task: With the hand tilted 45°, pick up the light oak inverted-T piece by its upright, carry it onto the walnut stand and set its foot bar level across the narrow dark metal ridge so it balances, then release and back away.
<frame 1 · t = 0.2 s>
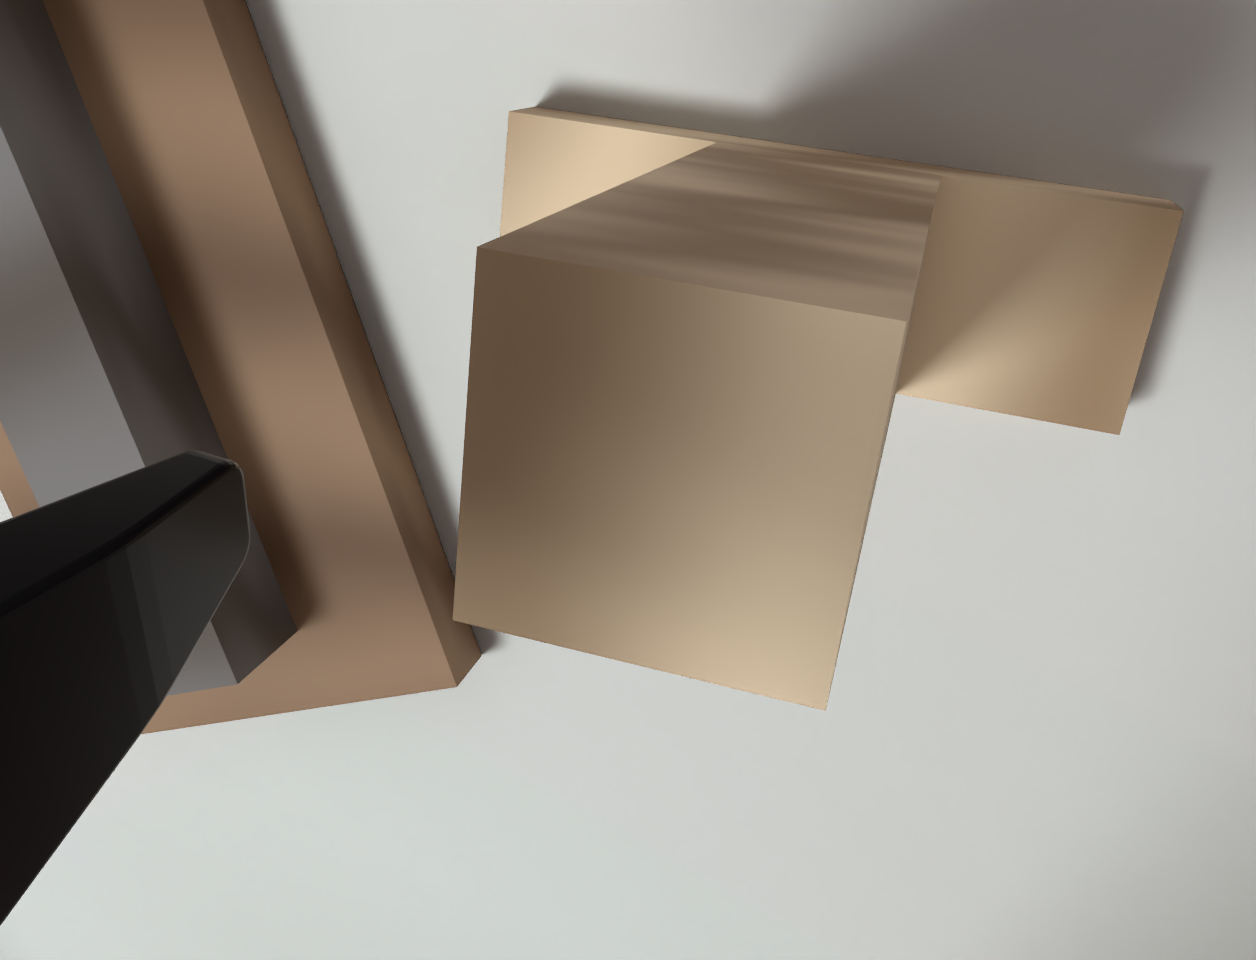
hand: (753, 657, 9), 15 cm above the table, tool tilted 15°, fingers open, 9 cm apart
oak T piece: (817, 255, 23), on the table
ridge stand: (152, 302, 28), on the table
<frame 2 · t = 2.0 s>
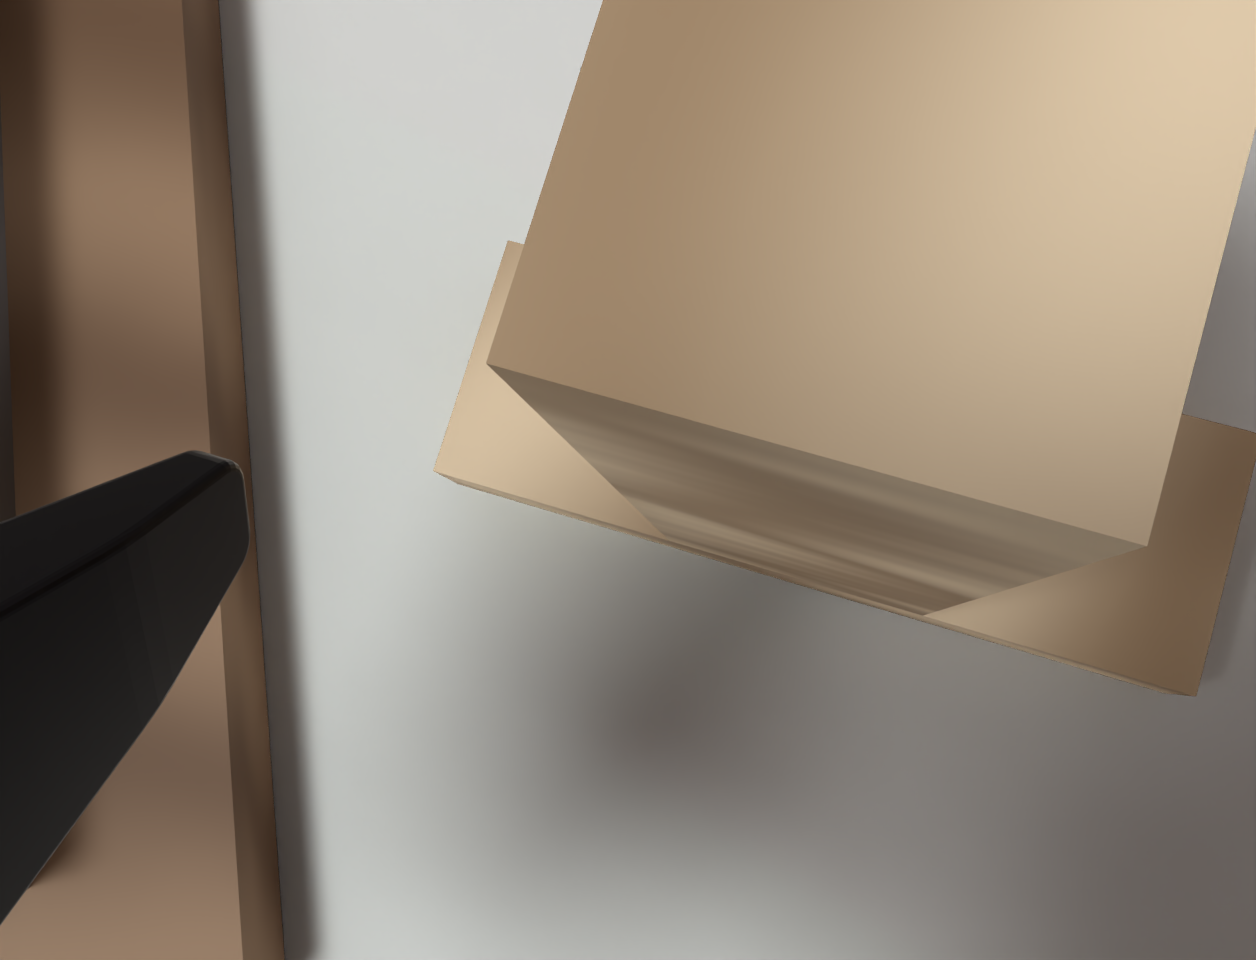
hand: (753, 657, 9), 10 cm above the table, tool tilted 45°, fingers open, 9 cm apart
oak T piece: (826, 468, 20), on the table
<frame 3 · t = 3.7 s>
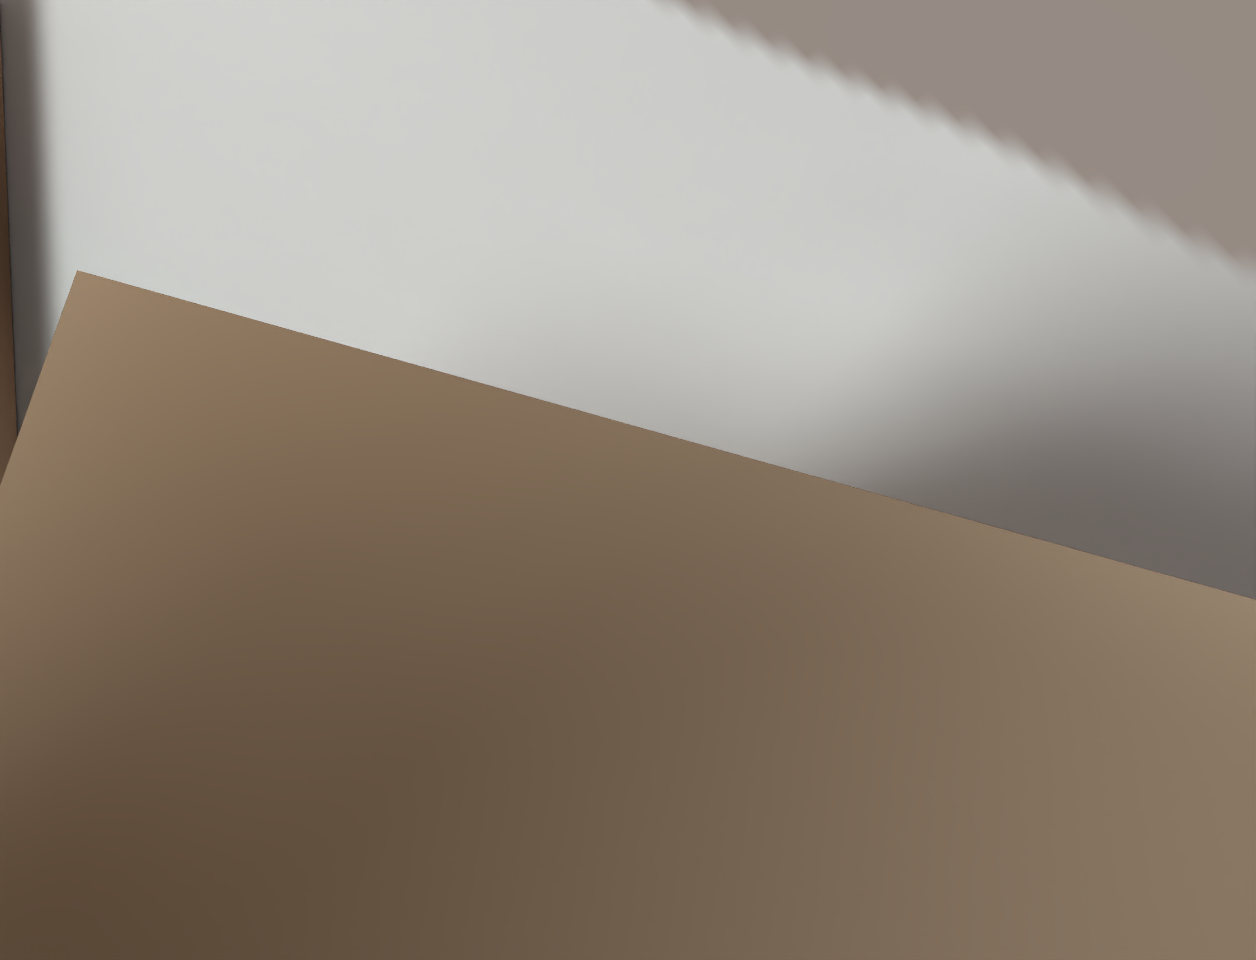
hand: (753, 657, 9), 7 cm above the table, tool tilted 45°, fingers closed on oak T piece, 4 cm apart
oak T piece: (739, 757, 16), on the table, touching gripper
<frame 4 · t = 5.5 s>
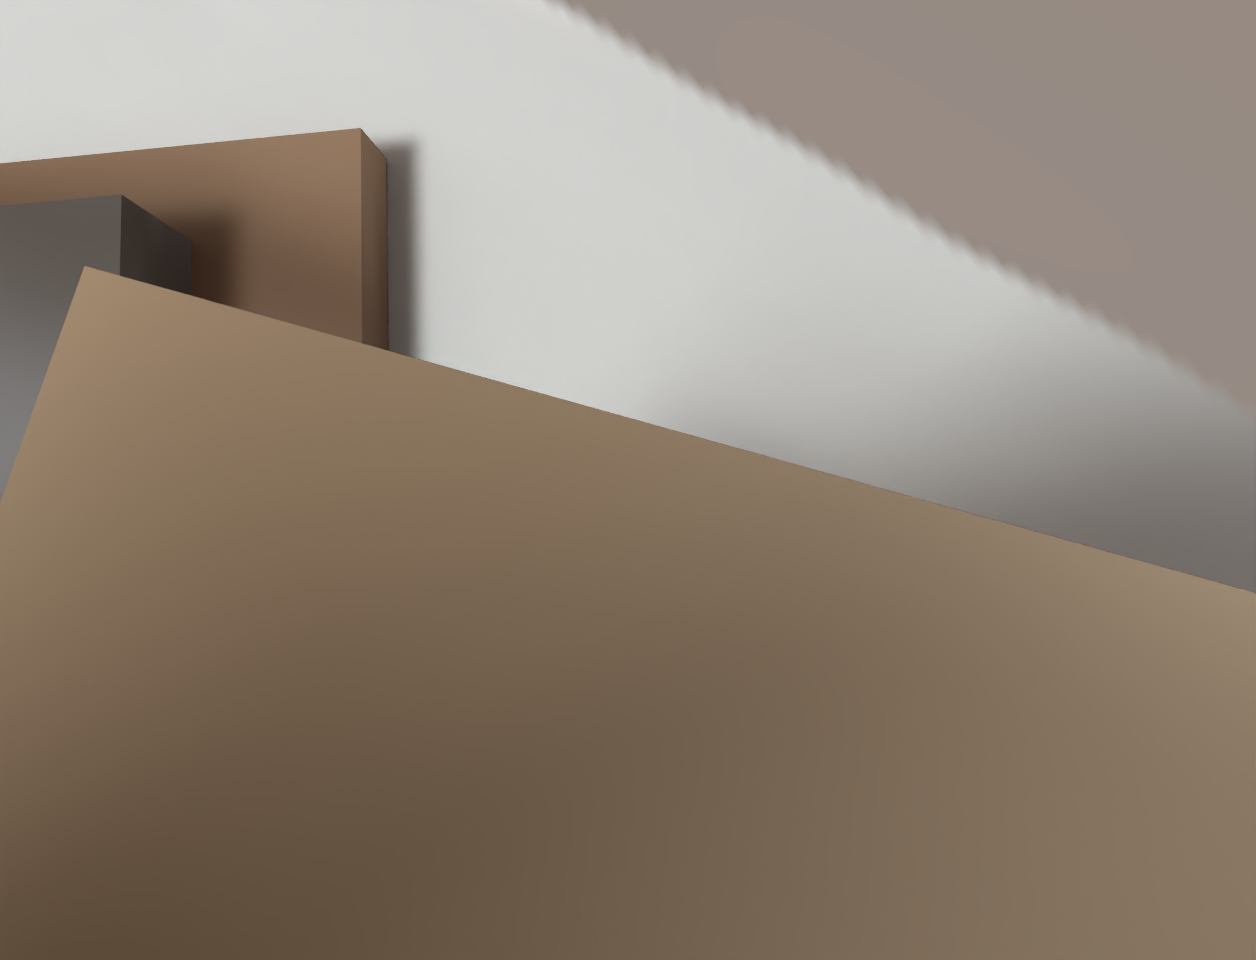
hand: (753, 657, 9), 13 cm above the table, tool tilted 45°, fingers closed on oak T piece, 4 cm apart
oak T piece: (742, 756, 16), point 7 cm above the table, touching gripper
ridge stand: (152, 651, 24), on the table
when the fingers open (11 cm above the table, at t = 7.3 s): oak T piece stays where it is, resting on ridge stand.
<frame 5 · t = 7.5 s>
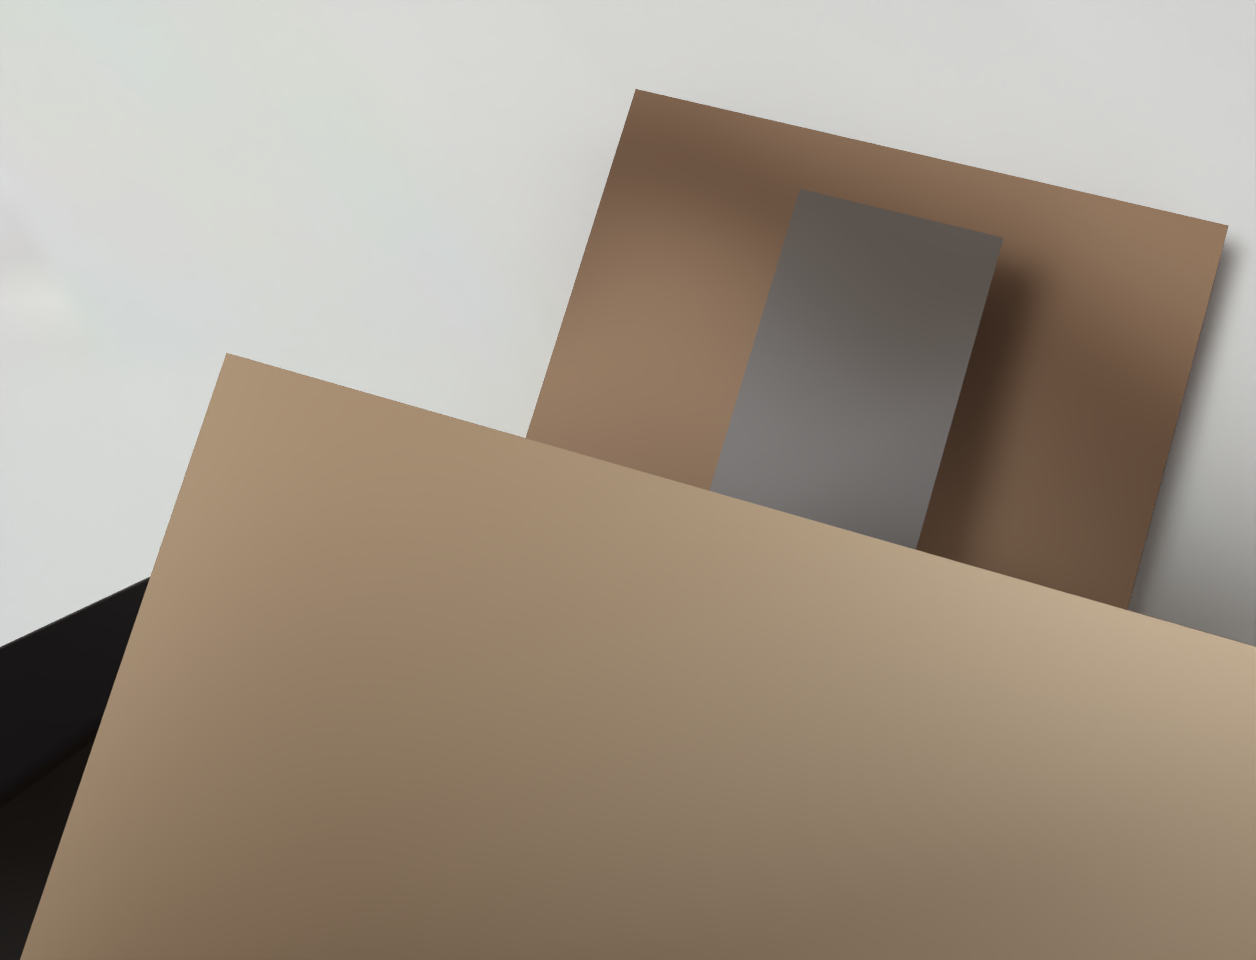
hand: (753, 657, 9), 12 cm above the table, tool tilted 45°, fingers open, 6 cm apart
oak T piece: (743, 750, 17), point 4 cm above the table, touching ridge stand
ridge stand: (753, 729, 21), on the table
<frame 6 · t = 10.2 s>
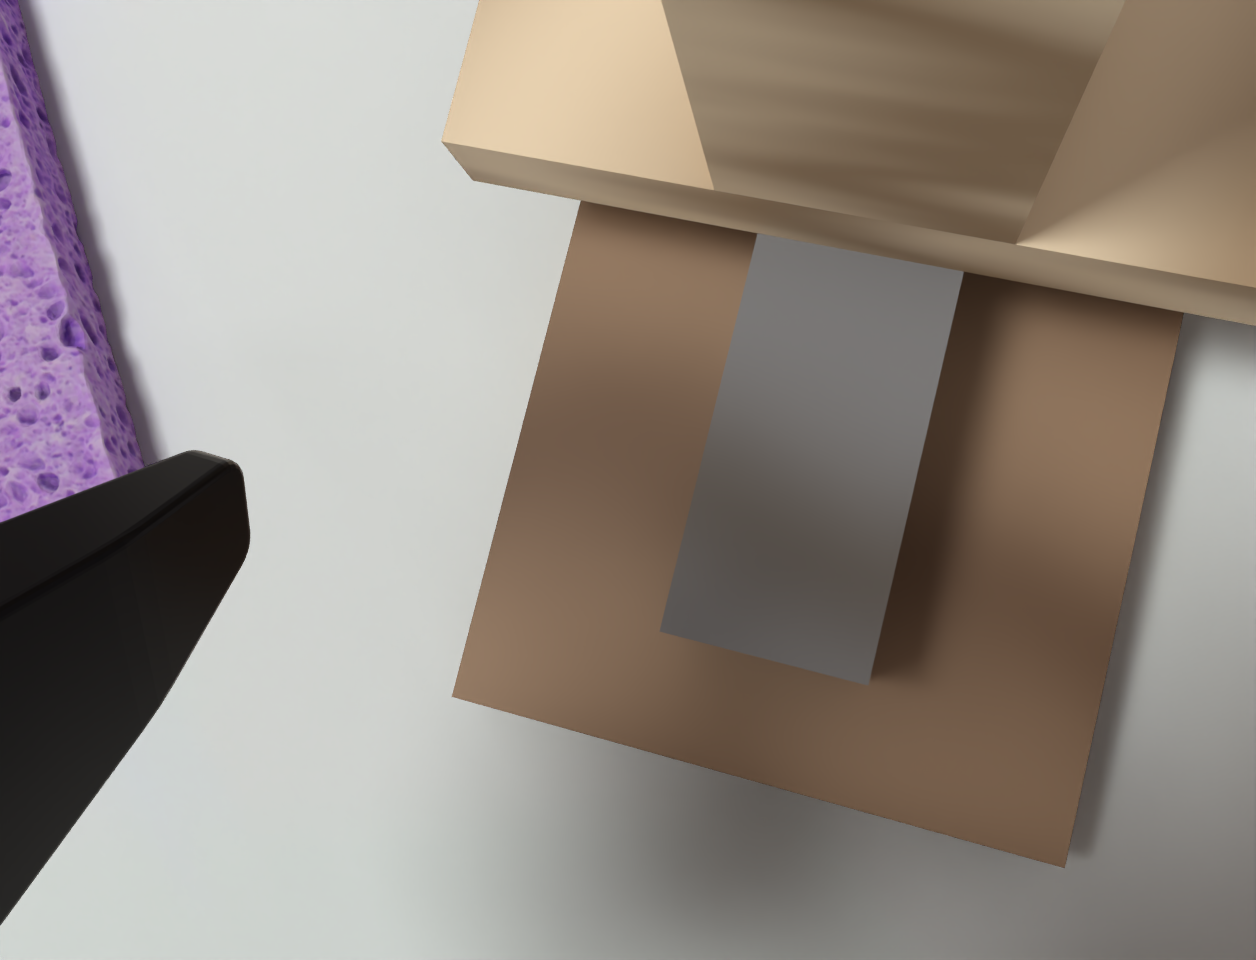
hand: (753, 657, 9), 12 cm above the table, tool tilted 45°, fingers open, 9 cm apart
oak T piece: (890, 121, 17), point 4 cm above the table, touching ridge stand
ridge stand: (880, 214, 21), on the table
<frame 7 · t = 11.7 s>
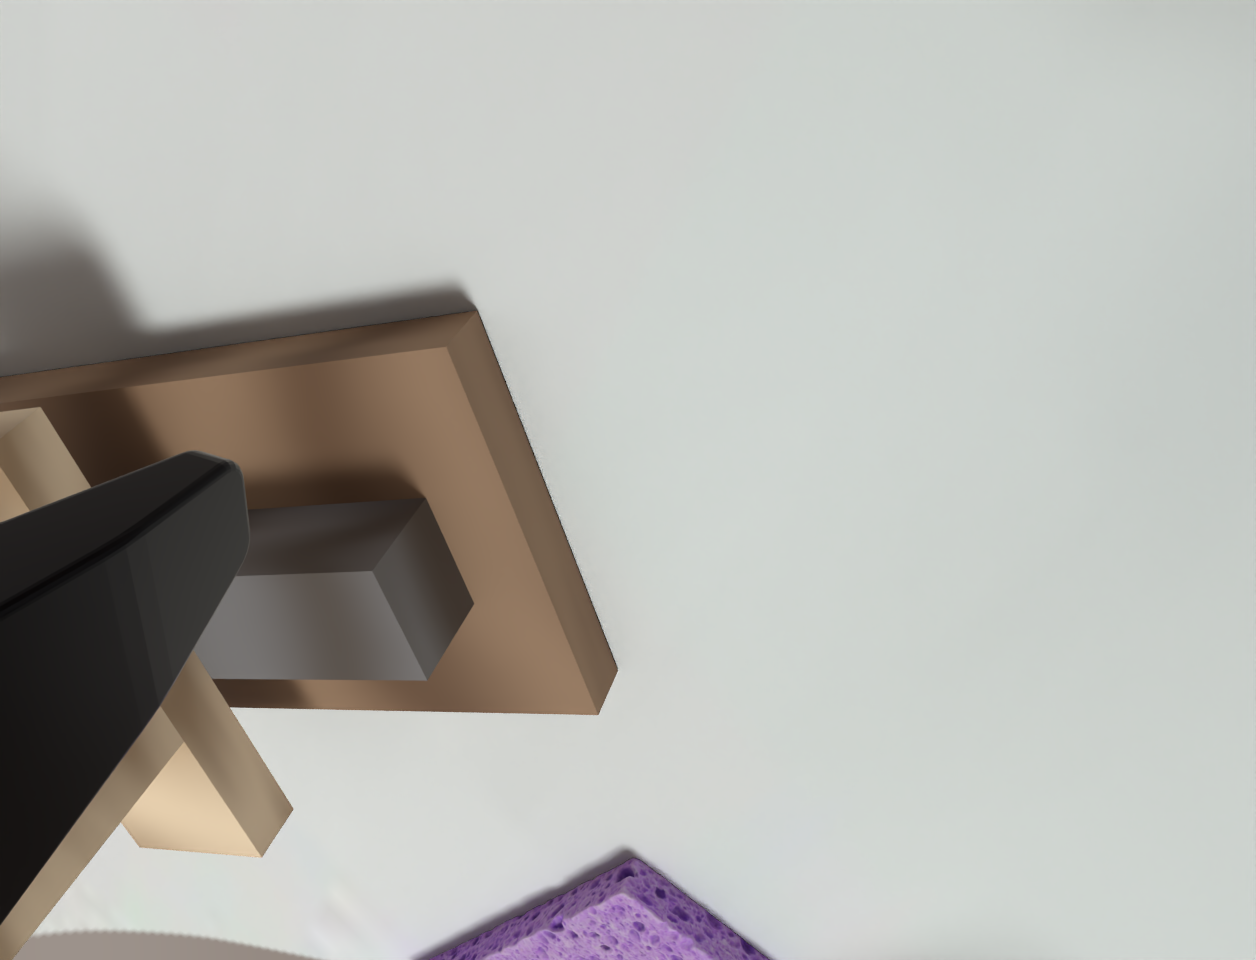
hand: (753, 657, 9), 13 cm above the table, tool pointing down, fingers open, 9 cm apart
oak T piece: (116, 631, 28), point 4 cm above the table, touching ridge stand
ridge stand: (212, 527, 31), on the table
sponges: (605, 957, 39), on the table
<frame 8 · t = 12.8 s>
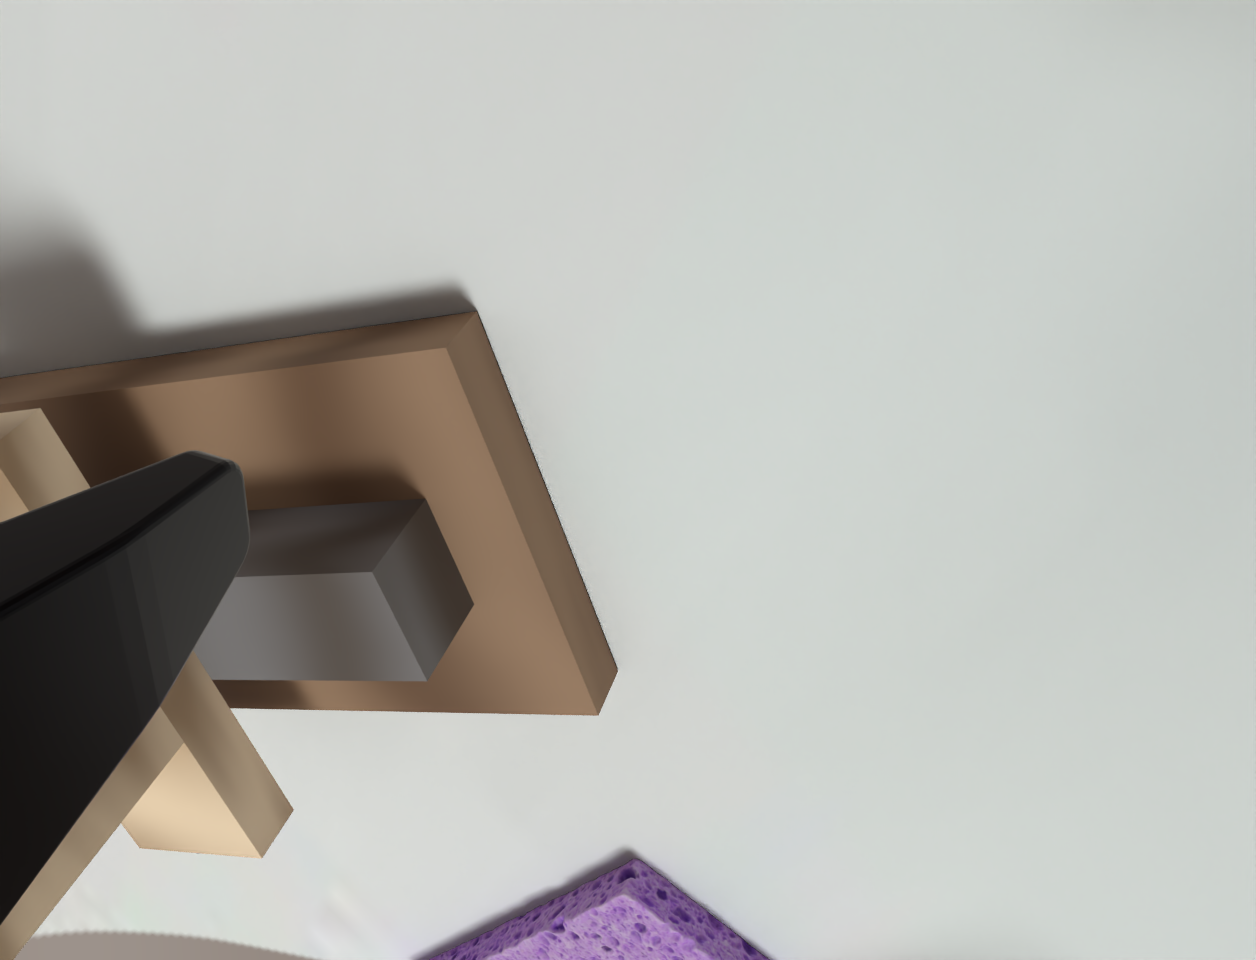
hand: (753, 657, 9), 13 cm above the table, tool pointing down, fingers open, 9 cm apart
oak T piece: (116, 632, 28), point 4 cm above the table, touching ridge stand
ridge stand: (212, 528, 31), on the table
sponges: (605, 958, 39), on the table
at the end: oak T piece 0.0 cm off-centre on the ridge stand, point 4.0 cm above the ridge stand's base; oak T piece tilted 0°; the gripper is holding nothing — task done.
